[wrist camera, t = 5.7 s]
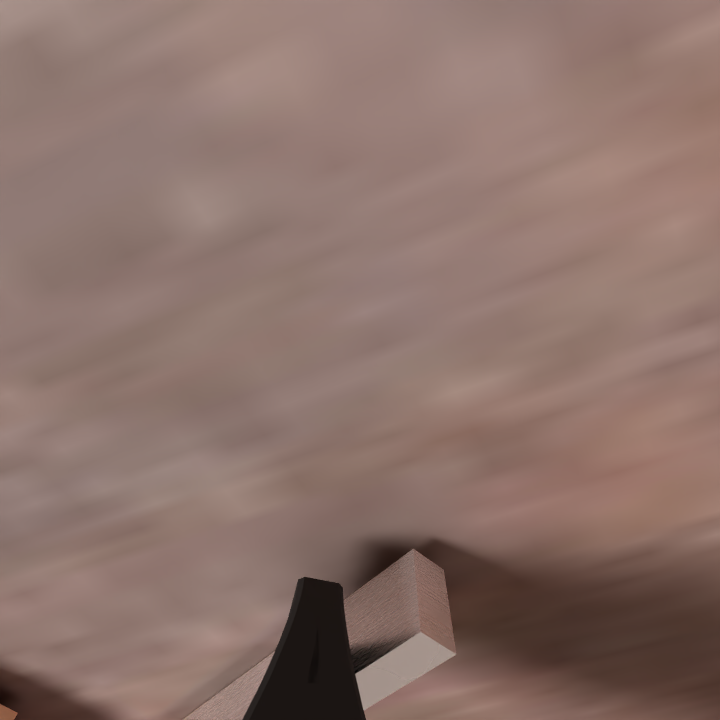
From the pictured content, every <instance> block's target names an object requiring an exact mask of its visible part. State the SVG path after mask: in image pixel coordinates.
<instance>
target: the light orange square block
mask: <svg viewBox="0 0 720 720" xmlns="http://www.w3.org/2000/svg"><path fill="white" fill-rule="evenodd" d="M17 714H18V713H17V712H15V711H13V710H11V709H9V708H7V707H5V706H3V705H1V704H0V720H14V719H15V717H16V715H17Z"/></svg>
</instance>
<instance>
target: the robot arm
mask: <svg viewBox="0 0 720 720" xmlns="http://www.w3.org/2000/svg"><path fill="white" fill-rule="evenodd" d="M242 720H366V718H365V714H364V710H363V706H362V702H361V697H360V693H359V689H358V684H357V680H356V675H355V671H354V666H353V661H352V656H351V650H350V645H349V639H348V633H347V626H346V619H345V611H344V601H343V588H342V586H341V585H340V584H339V583H334V582H329V581H324V580H318V579H313V578H308V577H303V578H301V579H298V583H297V587H296V590H295V594H294V598H293V602H292V606H291V609H290V613H289V617H288V620H287V623H286V625H285V628H284V631H283V633H282V636H281V638H280V641H279V643H278V646H277V648H276V650H275V652H274V655H273V657H272V659H271V661H270V664H269V666H268V668H267V670H266V673H265V675H264V677H263V679H262V681H261V684H260V686H259V688H258V690H257V692H256V694H255V696H254V698H253V699H252V701H251V703H250V705H249V707H248V709H247V711H246V713H245V715H244V717H243V719H242Z"/></svg>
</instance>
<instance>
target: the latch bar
mask: <svg viewBox="0 0 720 720" xmlns="http://www.w3.org/2000/svg"><path fill="white" fill-rule="evenodd" d="M343 601H344V611H345V619H346V626H347V633H348V639H349V645H350V650H351V656H352V661H353V666H354V671H355V675H356V680H357V684H358V689H359V693H360V697H361V702H362V706H363V710H365V709H367V708H369V707H370V706H372V705H374V704H375V703H377V702H379V701H380V700H382V699H383V698H385V697H387V696H388V695H390V694H392V693H393V692H395V691H397V690H398V689H400V688H402V687H403V686H405V685H407V684H408V683H410V682H412V681H413V680H415V679H417V678H418V677H420V676H422V675H423V674H425V673H427V672H428V671H430V670H432V669H433V668H435V667H437V666H438V665H440V664H442V663H443V662H445V661H447V660H448V659H450V658H452V657H453V656H455V655H456V647H455V641H454V634H453V628H452V621H451V614H450V608H449V601H448V594H447V588H446V581H445V575H444V569H442V568H441V567H439V566H438V565H436V564H435V563H433V562H432V561H430V560H429V559H428V558H426V557H425V556H423V555H422V554H420V553H419V552H417V551H416V550H415V549H412V550H411V551H409V552H408V553H407V554H405V555H404V556H403V557H401V558H400V559H399V560H397V561H396V562H395V563H393V564H392V565H391V566H389V567H388V568H387V569H385V570H384V571H382V572H381V573H380V574H378V575H377V576H376V577H374V578H373V579H372V580H370V581H369V582H368V583H366V584H365V585H364V586H362V587H361V588H360V589H358V590H357V591H355V592H354V593H353V594H351V595H350V596H349V597H347V598H346V599H345V600H343ZM274 652H275V651H274ZM274 652H273V653H272V654H270V655H269V656H268V657H266V658H265V659H264V660H262V661H261V662H260V663H258V664H257V665H256V666H254V667H253V668H252V669H250V670H249V671H247V672H246V673H245V674H243V675H242V676H241V677H239V678H238V679H237V680H235V681H234V682H233V683H231V684H230V685H229V686H227V687H226V688H225V689H223V690H222V691H220V692H219V693H218V694H216V695H215V696H214V697H212V698H211V699H210V700H208V701H207V702H206V703H204V704H203V705H202V706H200V707H199V708H198V709H196V710H195V711H193V712H192V713H191V714H189V715H188V716H187V717H185V718H184V719H183V720H242V719H243V717H244V715H245V713H246V711H247V709H248V707H249V705H250V703H251V701H252V699H253V698H254V696H255V694H256V692H257V690H258V688H259V686H260V684H261V681H262V679H263V677H264V675H265V673H266V670H267V668H268V666H269V664H270V661H271V659H272V657H273V655H274Z"/></svg>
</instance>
